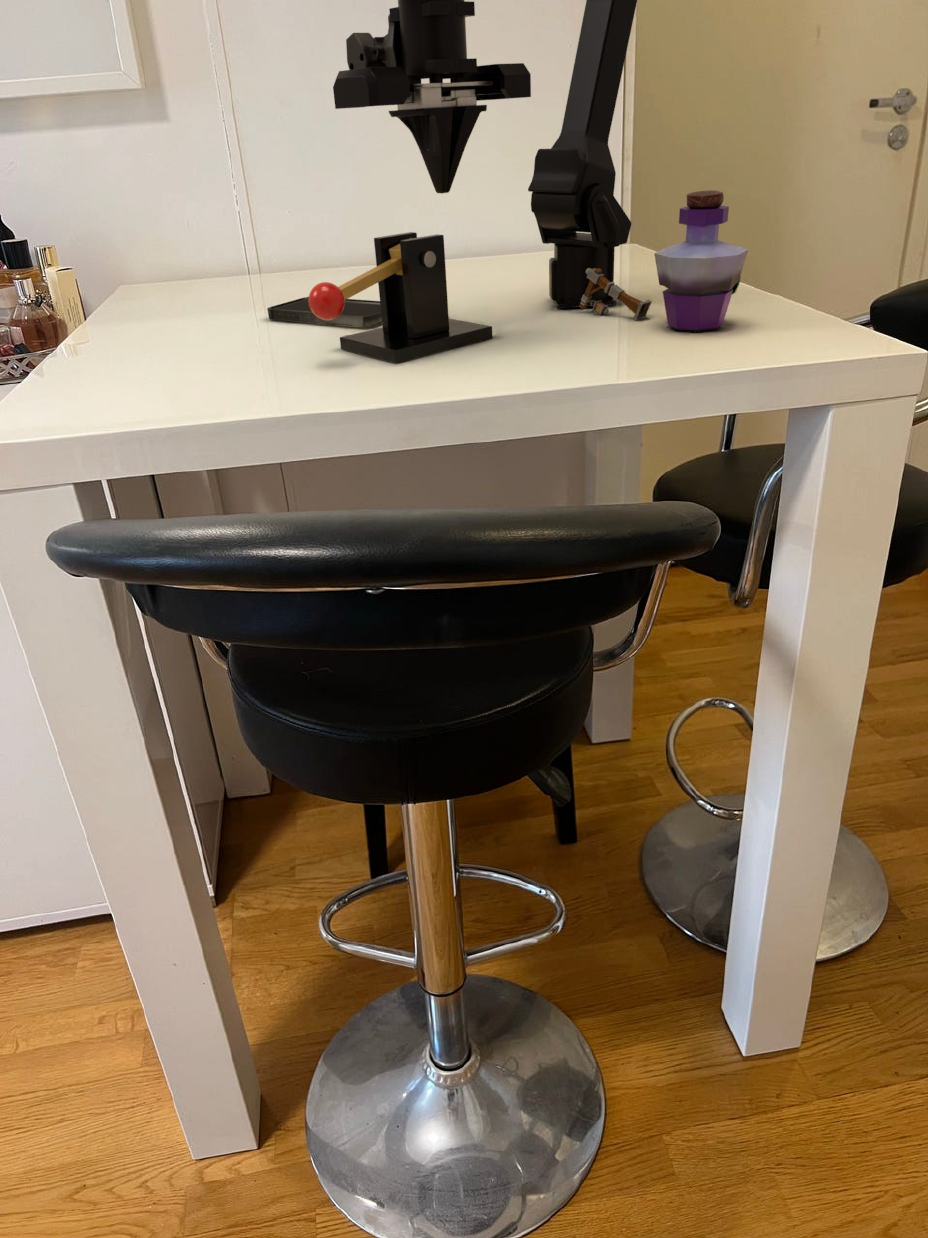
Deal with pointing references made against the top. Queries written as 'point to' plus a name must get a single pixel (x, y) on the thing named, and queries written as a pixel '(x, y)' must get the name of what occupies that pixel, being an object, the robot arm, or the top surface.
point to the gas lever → (351, 287)
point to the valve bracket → (414, 305)
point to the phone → (352, 316)
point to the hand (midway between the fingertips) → (442, 192)
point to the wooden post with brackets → (615, 291)
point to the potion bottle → (700, 267)
